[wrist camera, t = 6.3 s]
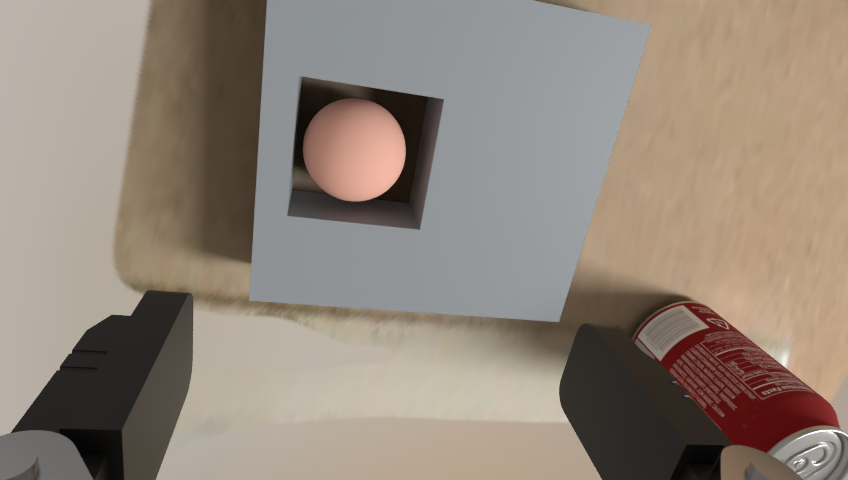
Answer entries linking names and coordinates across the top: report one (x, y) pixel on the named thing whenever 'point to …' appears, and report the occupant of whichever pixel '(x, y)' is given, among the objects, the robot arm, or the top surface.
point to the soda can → (746, 390)
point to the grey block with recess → (445, 153)
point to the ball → (354, 149)
